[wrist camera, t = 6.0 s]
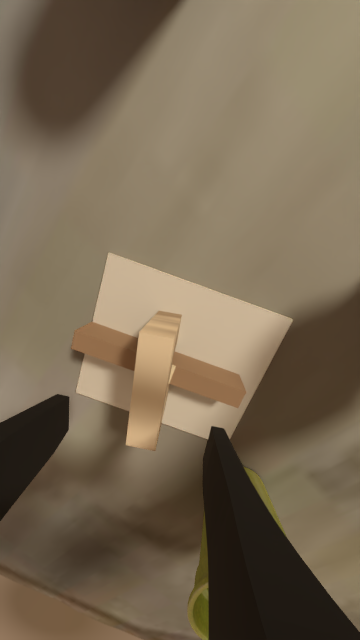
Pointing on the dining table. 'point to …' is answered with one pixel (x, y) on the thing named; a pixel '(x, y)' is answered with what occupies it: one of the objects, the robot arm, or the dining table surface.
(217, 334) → the rail board
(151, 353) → the maple plate
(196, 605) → the plant pot
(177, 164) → the dining table surface
